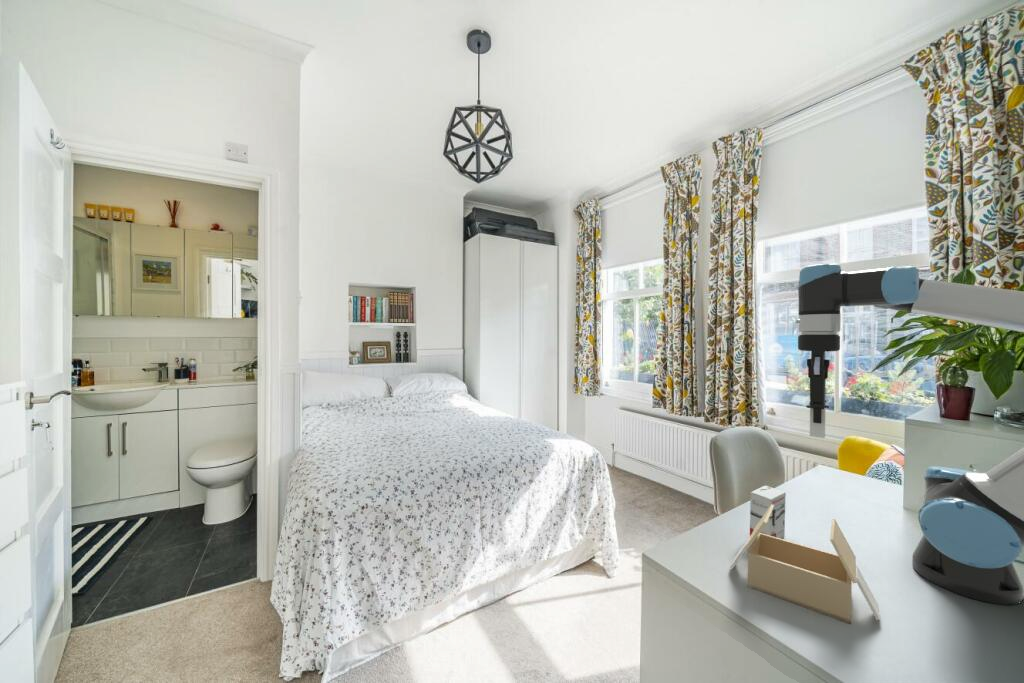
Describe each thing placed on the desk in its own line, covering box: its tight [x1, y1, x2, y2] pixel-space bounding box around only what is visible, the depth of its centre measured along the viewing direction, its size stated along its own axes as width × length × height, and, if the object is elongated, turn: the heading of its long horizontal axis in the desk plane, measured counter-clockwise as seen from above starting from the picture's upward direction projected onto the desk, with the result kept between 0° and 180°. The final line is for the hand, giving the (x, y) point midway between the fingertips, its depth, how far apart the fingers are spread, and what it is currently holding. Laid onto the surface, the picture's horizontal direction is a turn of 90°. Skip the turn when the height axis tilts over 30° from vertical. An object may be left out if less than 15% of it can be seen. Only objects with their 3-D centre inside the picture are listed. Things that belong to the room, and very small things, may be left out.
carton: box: [747, 533, 853, 625], centre depth 79 cm, size 16×11×7 cm
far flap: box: [729, 504, 774, 570], centre depth 84 cm, size 15×11×1 cm
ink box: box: [749, 485, 787, 539], centre depth 99 cm, size 8×5×12 cm, turn 123°
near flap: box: [829, 518, 881, 621], centre depth 73 cm, size 15×11×1 cm
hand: (817, 436), depth 89 cm, fingers closed
